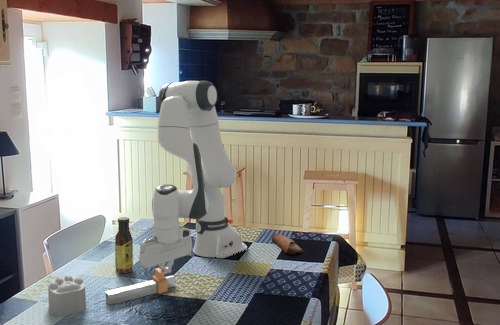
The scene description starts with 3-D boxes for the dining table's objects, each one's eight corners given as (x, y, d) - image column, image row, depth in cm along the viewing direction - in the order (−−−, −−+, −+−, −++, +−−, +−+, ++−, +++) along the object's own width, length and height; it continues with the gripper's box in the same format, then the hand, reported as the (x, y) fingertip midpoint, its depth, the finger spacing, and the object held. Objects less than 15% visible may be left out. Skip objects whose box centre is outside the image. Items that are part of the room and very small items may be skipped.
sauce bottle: (128, 275, 194) (127, 222, 190) (112, 273, 195) (111, 220, 191) (136, 268, 200) (135, 216, 196) (120, 266, 201) (119, 215, 197)
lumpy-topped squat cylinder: (53, 318, 162) (52, 291, 160) (45, 300, 172) (44, 275, 171) (88, 310, 167) (87, 284, 165) (78, 294, 178) (77, 269, 176)
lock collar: (160, 285, 185) (159, 266, 183) (167, 291, 181) (167, 272, 179) (152, 287, 183) (151, 268, 182) (159, 293, 179) (159, 273, 177)
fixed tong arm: (172, 285, 186) (172, 275, 186) (174, 286, 185) (174, 276, 185) (105, 302, 172) (105, 291, 172) (107, 303, 171) (107, 292, 171)
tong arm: (159, 290, 182) (159, 280, 181) (160, 291, 181) (160, 281, 180) (107, 303, 171) (107, 293, 170) (109, 305, 170) (108, 294, 169)
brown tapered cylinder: (306, 253, 219) (298, 240, 217) (292, 263, 218) (284, 250, 216) (289, 238, 236) (282, 226, 234) (275, 247, 235) (268, 236, 232)
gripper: (146, 243, 170) (147, 284, 172) (195, 229, 185) (194, 267, 187) (134, 238, 174) (135, 279, 176) (182, 225, 189) (182, 262, 191)
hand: (166, 272), depth 182 cm, fingers closed
